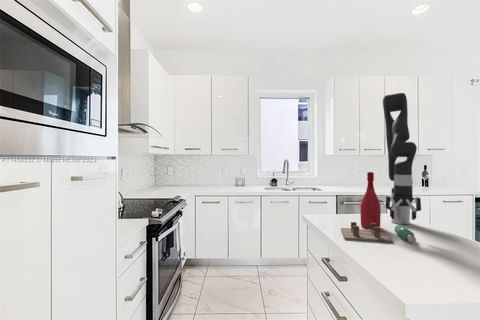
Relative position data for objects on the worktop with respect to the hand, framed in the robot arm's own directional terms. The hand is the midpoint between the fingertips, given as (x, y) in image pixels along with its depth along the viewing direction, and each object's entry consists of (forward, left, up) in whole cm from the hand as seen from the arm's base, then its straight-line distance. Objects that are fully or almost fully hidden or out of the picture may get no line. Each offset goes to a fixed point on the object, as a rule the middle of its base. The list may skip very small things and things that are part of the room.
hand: (402, 219), depth 128 cm
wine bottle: (-18, -11, -9) cm, 23 cm away
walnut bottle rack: (+2, -17, -9) cm, 19 cm away
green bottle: (+2, 0, -9) cm, 9 cm away
